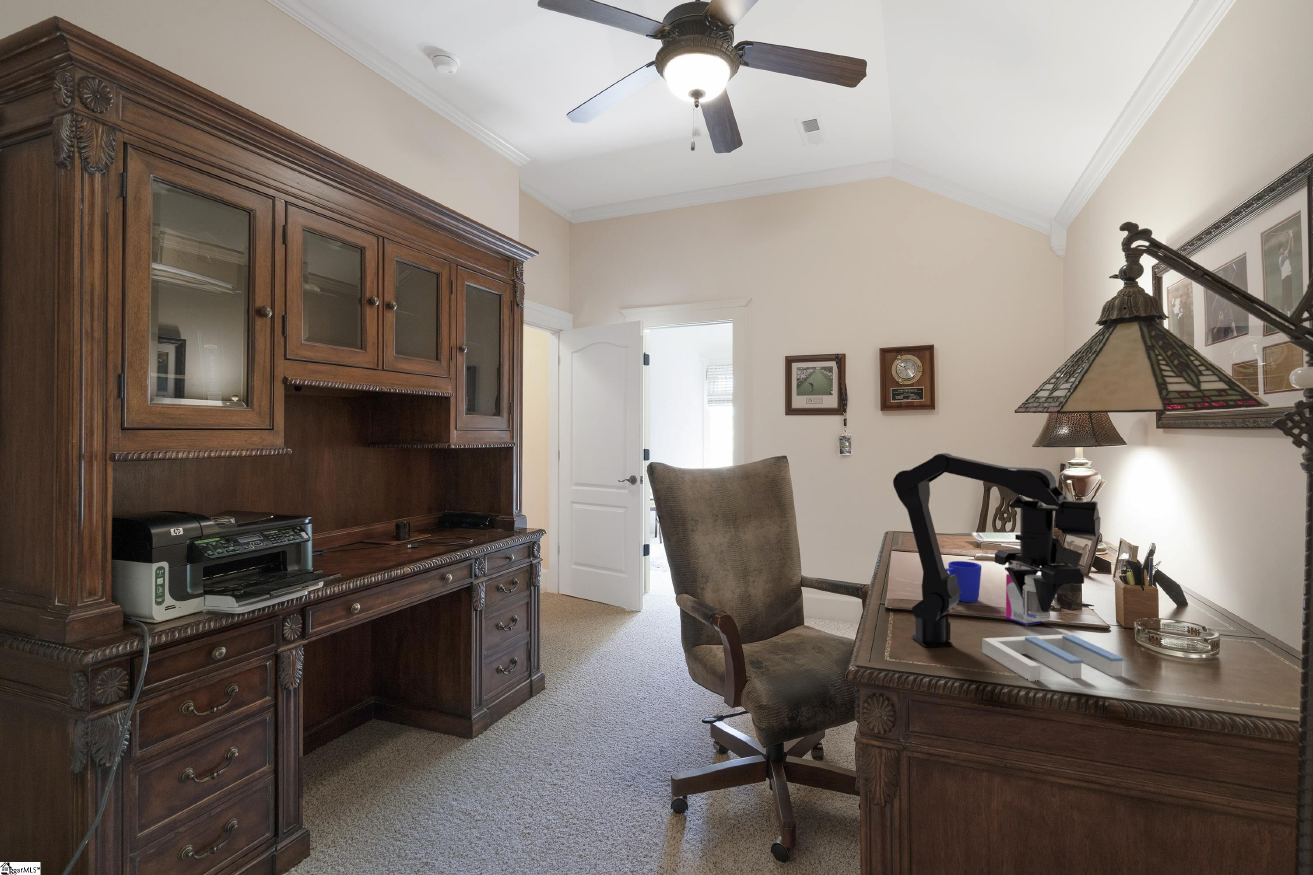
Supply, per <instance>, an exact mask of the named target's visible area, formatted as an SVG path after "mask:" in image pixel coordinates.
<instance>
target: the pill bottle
mask: <svg viewBox="0 0 1313 875" xmlns="http://www.w3.org/2000/svg"><path fill="white" fill-rule="evenodd" d="M1033 578H1042V576H1041V574H1036V575H1026V576H1025V583H1026V584H1025V585H1024V586H1023V616H1024V617H1025V618H1027V619H1030V620H1035V621H1042V622H1048V621H1049V620H1050V618H1051V608H1050V609H1049V611H1048V612H1043V611H1042V610H1041V607H1040V604H1039V600H1038V596H1037V592H1036V588H1035V584H1034V581H1033Z"/></svg>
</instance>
